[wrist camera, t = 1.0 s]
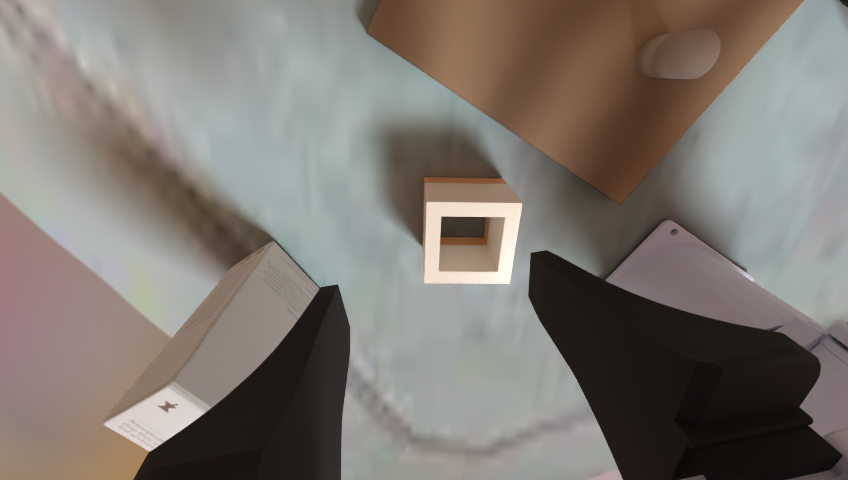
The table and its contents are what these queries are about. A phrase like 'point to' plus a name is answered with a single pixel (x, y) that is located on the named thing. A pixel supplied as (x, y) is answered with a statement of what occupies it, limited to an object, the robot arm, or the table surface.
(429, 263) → the sleeve
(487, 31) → the pin board
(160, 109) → the table surface
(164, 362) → the skincare box
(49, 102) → the table surface
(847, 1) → the eyeglasses
